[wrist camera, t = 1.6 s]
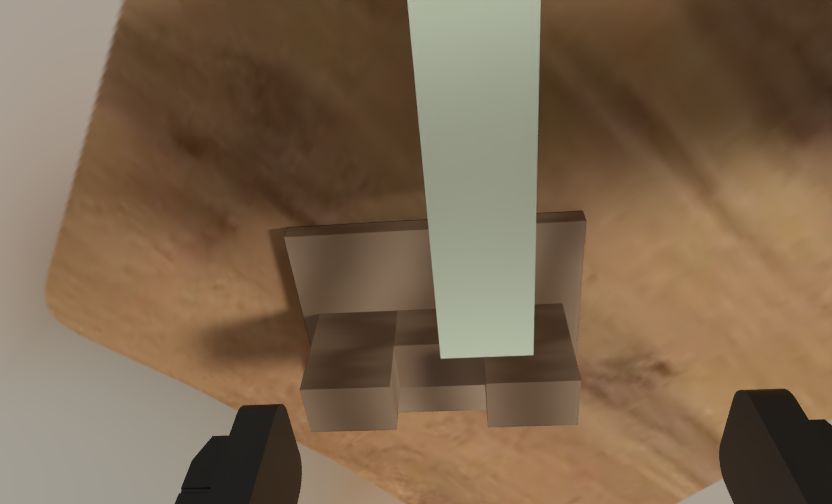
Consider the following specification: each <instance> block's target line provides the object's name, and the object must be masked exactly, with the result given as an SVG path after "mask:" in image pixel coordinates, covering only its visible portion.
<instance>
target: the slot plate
mask: <svg viewBox="0 0 832 504" xmlns="http://www.w3.org/2000/svg"><path fill="white" fill-rule="evenodd" d="M585 230H586V219H585V216H584V213H583V211H573V212H556V213H538V214H536V255H535V305H534V354H533V355H525V356H498V357H471V358H444V359H441V357H440V346H439V336H438V325H437V314H436V303H435V293H434V282H433V271H432V260H431V250H430V239H429V228H428V220H413V221H395V222H377V223H359V224H342V225H324V226H306V227H288V228H287V231H286V233H285V236H284V240H285V244H286V248H287V252H288V256H289V260H290V264H291V268H292V272H293V276H294V280H295V284H296V288H297V292H298V296H299V300H300V304H301V308H302V312H303V316H304V320H305V325H306V329H307V333H308V337H309V341H310V345H311V349H310V353H309V356H308V360H307V364H306V368H305V372H304V375H303V379H302V383H301V387H300V393H301V397H302V400H303V404H304V408H305V411H306V415H307V419H308V422H309V426H310V429H311V432H334V431H370V430H397V420H398V412H426V411H460V410H487V421H488V427H516V426H552V425H578V414H579V402H580V389H581V378H580V374H579V370H578V365H577V361H576V355H577V341H578V327H579V313H580V299H581V285H582V272H583V258H584V244H585Z"/></svg>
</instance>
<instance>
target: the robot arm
mask: <svg viewBox="0 0 832 504" xmlns="http://www.w3.org/2000/svg"><path fill="white" fill-rule="evenodd" d="M719 460H720V467H721V472H722V476H723V479H724V482H725V484H726V487H727V489H728V491H729V494H730V496H731V498H732V501H733V503H734V504H832V425H831V424H829V423H828V422H827V421H826V420H825V419H823V420H809V419H808V418H807V416H806V415H805V413H804V411H803V410H802V408H801V407H800V405H799V403H798V402H797V400H796V399H795V397H794V396H793V394H792V393H791V392H790V391H788V390H786V389H758V390H739V391H737V392H736V393H735V395H734V398H733V401H732V405H731V408H730V412H729V415H728V419H727V422H726V426H725V429H724V433H723V436H722V440H721V444H720V449H719ZM301 475H302V467H301V458H300V453H299V450H298V447H297V443H296V440H295V437H294V433H293V430H292V426H291V423H290V420H289V416H288V413H287V410H286V408H285V406H284V405H283V404H270V405H244V406H242V407H241V408H240V409H239V411H238V413H237V415H236V418H235V421H234V424H233V426H232V429H231V432H230V435H229V436H212V438H211V439H210V440H209V441H208V442H207V443H206V445H205V446H204V447H203V448H202V449H201V451H200V452H199V453H198V454H197V455H196V456H195V458H194V459H193V460H192V462H191V465H190V467H189V470H188V472H187V475H186V477H185V480H184V482H183V485H182V487H181V490H182V491H181V493H180V494H179V495H178V497H177V500H176V502H175V504H297V502H298V498H299V493H300V487H301V478H302V476H301Z"/></svg>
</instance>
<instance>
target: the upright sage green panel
mask: <svg viewBox="0 0 832 504" xmlns="http://www.w3.org/2000/svg"><path fill="white" fill-rule="evenodd" d="M407 2H408V13H409V24H410V35H411V45H412V56H413V67H414V78H415V88H416V99H417V110H418V121H419V131H420V142H421V153H422V164H423V174H424V185H425V196H426V207H427V217H428V228H429V239H430V250H431V260H432V271H433V282H434V293H435V303H436V314H437V325H438V336H439V346H440V357H441V359H444V358H471V357H498V356H525V355H533V354H534V305H535V255H536V206H537V156H538V106H539V57H540V7H541V0H407Z"/></svg>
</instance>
